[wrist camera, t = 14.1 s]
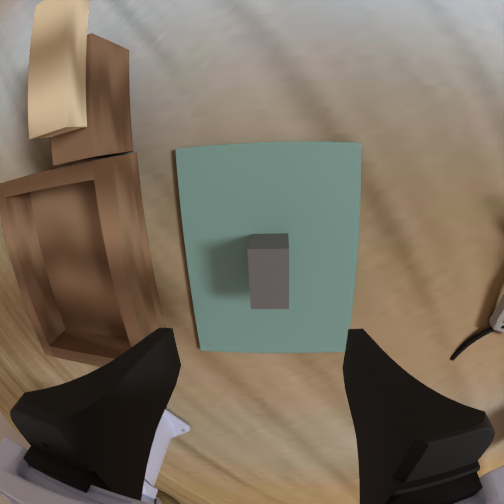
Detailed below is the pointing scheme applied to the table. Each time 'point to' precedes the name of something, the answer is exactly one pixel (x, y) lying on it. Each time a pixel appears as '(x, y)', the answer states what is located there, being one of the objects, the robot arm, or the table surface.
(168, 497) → the weight
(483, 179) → the table surface
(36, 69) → the tan wooden block
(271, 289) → the lid
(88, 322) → the wooden tray
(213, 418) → the table surface
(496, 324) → the bike brake
